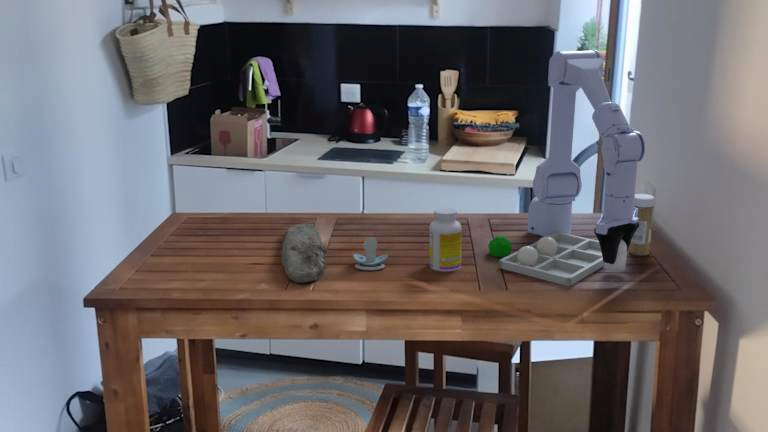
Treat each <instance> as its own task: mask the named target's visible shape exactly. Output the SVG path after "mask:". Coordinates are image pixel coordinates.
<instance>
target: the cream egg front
mask: <svg viewBox="0 0 768 432" xmlns="http://www.w3.org/2000/svg"><path fill="white" fill-rule="evenodd" d="M517 251H518V253H517V260H518V262H519V263H520V264H521V265H525V266H529V267H532V266H534V265H535V264H536V263H537V261H538V252H537V251H536V249H535V248H533V247H531V246H529V245H525V246H522V247H521V248H519V250H517Z"/></svg>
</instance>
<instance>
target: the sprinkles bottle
mask: <svg viewBox="0 0 768 432" xmlns="http://www.w3.org/2000/svg"><path fill="white" fill-rule="evenodd" d="M654 206H655V197H654V195H651V194H648V193H635V199H634V208H638V217H637V218H639V221H638V222H639V227H638V229H637V230H636V232H635V233H634V235H633V237H632V240H631V242H630V245H629V248H628V253H629V254H631V255H633V256H648V255H649V254H650V250H651V249H650V248H651V247H650V246H651V241H652V222H653V210H654V209H653V208H654Z"/></svg>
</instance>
